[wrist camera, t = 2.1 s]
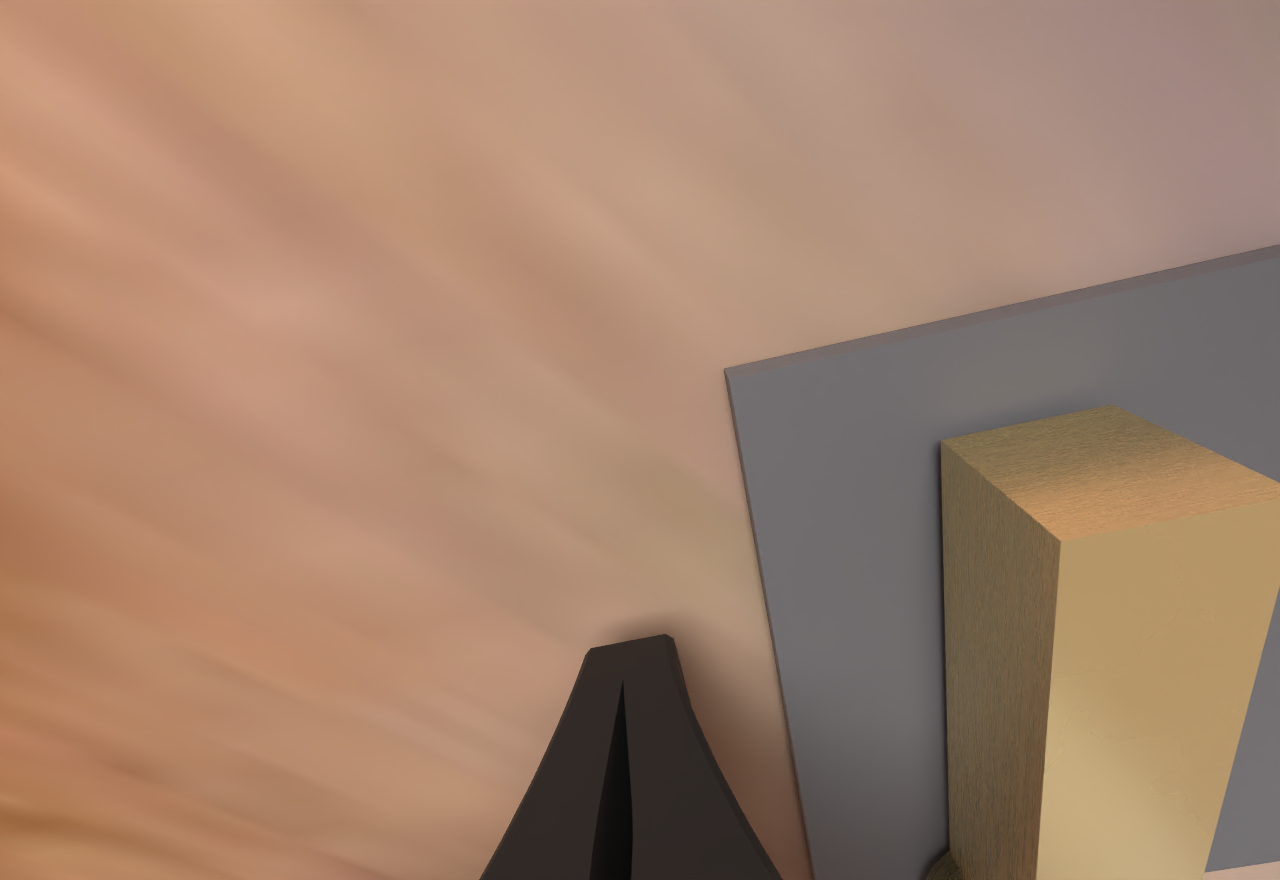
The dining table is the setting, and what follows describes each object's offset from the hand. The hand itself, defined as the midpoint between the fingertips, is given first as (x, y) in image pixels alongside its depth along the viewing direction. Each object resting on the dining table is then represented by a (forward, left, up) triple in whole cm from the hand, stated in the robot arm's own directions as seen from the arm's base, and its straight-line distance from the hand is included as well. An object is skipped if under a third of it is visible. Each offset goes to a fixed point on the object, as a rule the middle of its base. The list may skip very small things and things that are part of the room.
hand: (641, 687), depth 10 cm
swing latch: (-6, +3, -1) cm, 7 cm away
